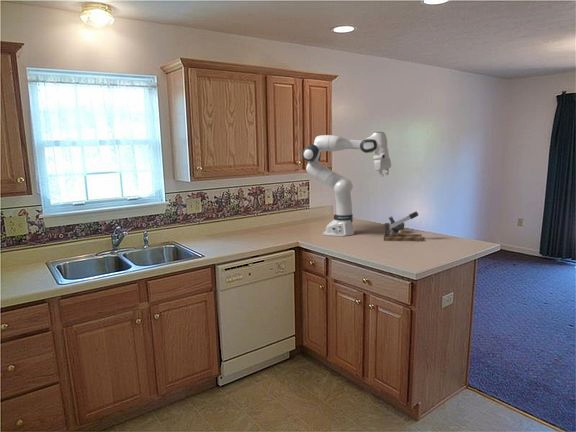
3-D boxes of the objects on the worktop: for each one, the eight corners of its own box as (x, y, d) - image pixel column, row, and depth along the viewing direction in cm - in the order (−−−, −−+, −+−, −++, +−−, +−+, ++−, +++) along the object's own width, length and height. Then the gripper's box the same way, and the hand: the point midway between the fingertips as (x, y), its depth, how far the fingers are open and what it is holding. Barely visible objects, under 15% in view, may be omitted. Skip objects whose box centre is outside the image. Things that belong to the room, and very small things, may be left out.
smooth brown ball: (397, 236, 270) (397, 230, 269) (397, 235, 274) (397, 228, 273) (404, 236, 269) (404, 230, 268) (404, 235, 273) (404, 228, 272)
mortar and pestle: (401, 231, 296) (401, 214, 294) (406, 233, 287) (406, 216, 285) (386, 232, 294) (386, 215, 292) (391, 234, 285) (391, 217, 283)
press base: (383, 240, 269) (383, 225, 267) (384, 236, 280) (384, 222, 279) (422, 241, 263) (422, 225, 261) (421, 237, 274) (421, 222, 273)
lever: (389, 229, 271) (387, 226, 271) (389, 228, 275) (387, 225, 274) (419, 215, 264) (417, 211, 264) (418, 214, 268) (416, 210, 268)
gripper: (383, 155, 288) (385, 174, 290) (371, 157, 272) (374, 178, 273) (392, 153, 284) (394, 173, 286) (380, 156, 268) (383, 177, 270)
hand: (384, 176), depth 280 cm, fingers open, 8 cm apart
